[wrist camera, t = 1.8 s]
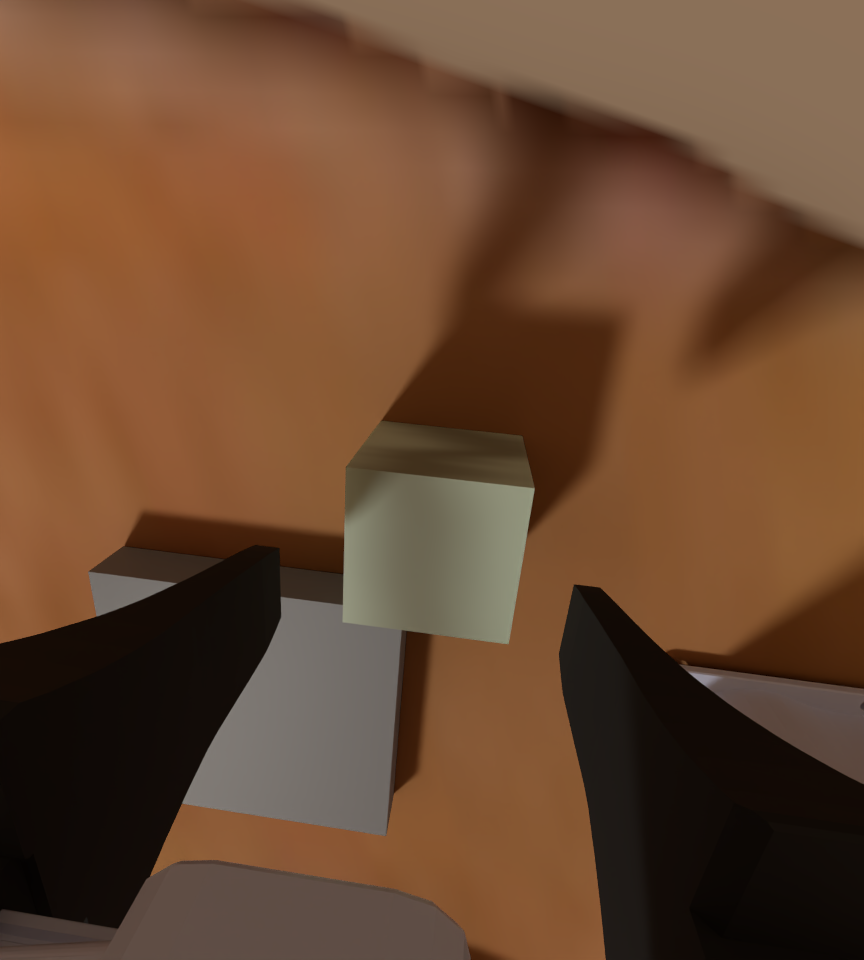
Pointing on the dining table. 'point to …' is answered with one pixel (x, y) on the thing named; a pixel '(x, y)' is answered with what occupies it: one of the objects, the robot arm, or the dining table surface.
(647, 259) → the dining table surface
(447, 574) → the cube
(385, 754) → the stand
